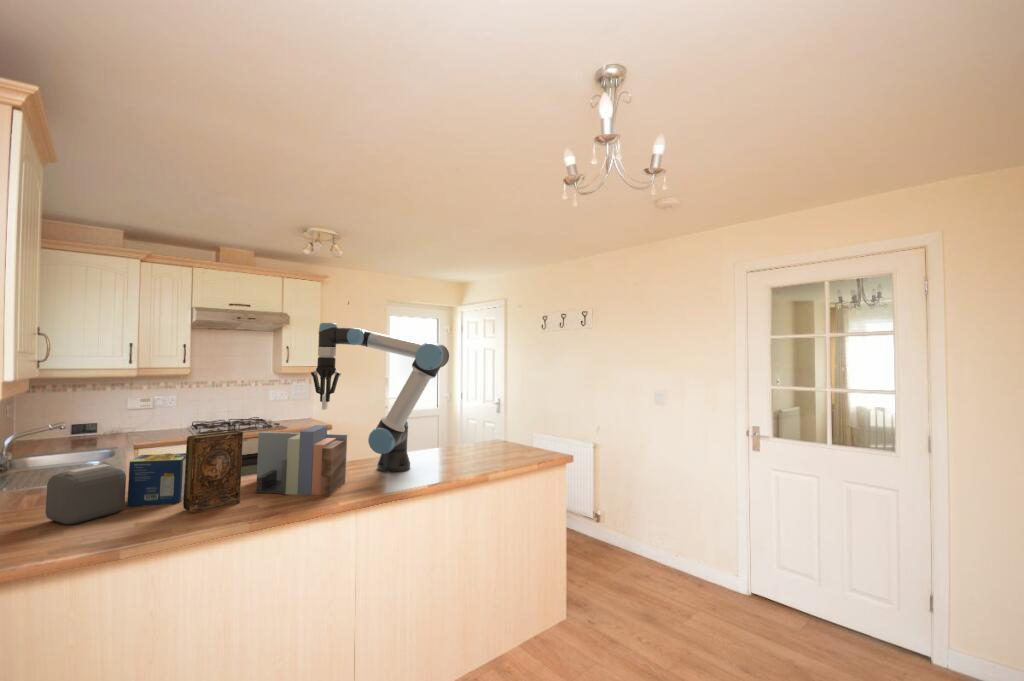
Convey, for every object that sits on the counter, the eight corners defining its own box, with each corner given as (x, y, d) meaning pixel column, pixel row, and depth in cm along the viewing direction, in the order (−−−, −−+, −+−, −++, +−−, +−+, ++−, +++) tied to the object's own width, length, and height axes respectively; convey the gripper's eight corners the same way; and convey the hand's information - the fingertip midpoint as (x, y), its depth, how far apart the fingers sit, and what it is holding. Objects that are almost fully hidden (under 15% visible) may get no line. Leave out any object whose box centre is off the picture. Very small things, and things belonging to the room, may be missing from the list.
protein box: (138, 497, 168) (140, 454, 168) (188, 494, 173) (190, 452, 174) (125, 507, 158) (128, 461, 158) (179, 503, 164) (181, 459, 164)
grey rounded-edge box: (107, 506, 158) (109, 460, 158) (128, 512, 154) (130, 464, 154) (44, 522, 143) (47, 471, 143) (66, 528, 139) (69, 476, 139)
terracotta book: (334, 484, 192) (336, 438, 193) (321, 494, 178) (323, 444, 179) (324, 484, 192) (326, 437, 192) (311, 494, 178) (313, 444, 178)
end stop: (344, 483, 194) (345, 439, 194) (329, 496, 177) (331, 448, 177) (335, 483, 194) (337, 439, 194) (320, 495, 177) (322, 448, 177)
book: (235, 499, 170) (238, 430, 170) (242, 502, 166) (245, 432, 167) (182, 510, 157) (186, 436, 157) (189, 514, 153) (192, 438, 154)
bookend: (302, 482, 193) (303, 450, 193) (284, 494, 177) (286, 459, 177) (273, 481, 192) (275, 449, 193) (253, 493, 176) (255, 458, 177)
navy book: (324, 483, 193) (327, 425, 193) (310, 494, 178) (313, 431, 178) (312, 483, 192) (315, 425, 193) (297, 494, 177) (300, 431, 178)
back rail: (345, 482, 195) (347, 434, 196) (344, 482, 194) (346, 434, 195) (258, 480, 194) (260, 432, 195) (256, 481, 193) (258, 432, 193)
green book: (312, 483, 192) (314, 432, 193) (297, 494, 177) (299, 439, 178) (301, 483, 192) (303, 432, 193) (285, 494, 177) (287, 439, 178)
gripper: (344, 357, 214) (341, 408, 214) (315, 356, 214) (313, 407, 213) (338, 357, 207) (336, 410, 206) (308, 356, 206) (306, 409, 206)
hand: (324, 409), depth 210 cm, fingers closed
